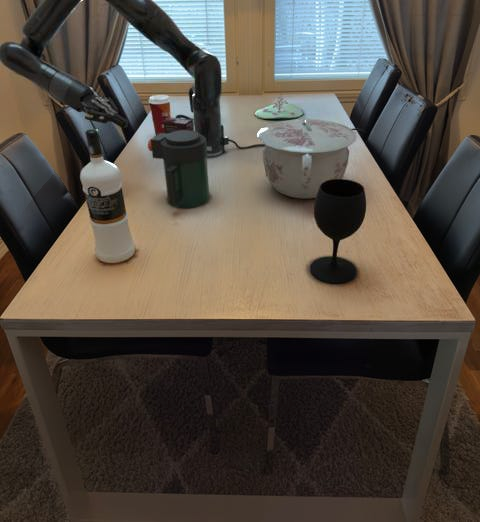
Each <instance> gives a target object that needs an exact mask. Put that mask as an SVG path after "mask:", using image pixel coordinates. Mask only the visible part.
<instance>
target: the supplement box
mask: <svg viewBox="0 0 480 522" xmlns="http://www.w3.org/2000/svg"><path fill="white" fill-rule="evenodd" d="M163 123H164V131H165V134H169V133H171V132H175V131H181V130H191V131H195V126H194V120H189V119H185V118H175V117H172V116H171V118H168V119H166V120H165V121H163Z"/></svg>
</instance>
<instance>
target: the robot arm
mask: <svg viewBox="0 0 480 522" xmlns="http://www.w3.org/2000/svg"><path fill="white" fill-rule="evenodd" d="M104 1H106V2H107V3H108V4H109V5H110V6H111V7H112V8H113V9H114V10H115V11H116V12H117V13H118V14H119V15H120V16H121V17H122V18H123V19H124V20H125V21H127V23H129V25H131V26H132V27H133V28H134V29H135V30H136V31H138V32H139V33H140V34H141V35H142V36H143V37H145V38H146V39H147V40H148V41H150V42H151V43H152V44H153V45H154V46H156V47H157V48H159V49H161V50H162V51H164V52H165V53H167V54H168V55H169V56H171V57H172V58H173V59H174V60H175V61H176V62H177V63H178V64H179V65H180V66H181V67H182V68H183V69H184V70H185V71H186V73H187V74H189V76H191V78H192V79H193V81H194V85H195V94H194V95H193V96H192V102H193V119H194V120H193V125H194V131H196V132H198V133H199V134H201V135H203V136H205V137H206V143H207V158H213V157H218V156H220V155H222V154H223V153H225V152H226V151H225V149H226V148H225V146H228V145H229V144H230V143H232V144H234V145H235V147H236V148H237V149H240V150H245V149H251V148H255V147H265V144H264V143H257V144H252V145H249V146H240V145H239V144H238V143H237V142H236V141H235V140H233V139H230V137H229V136H227V135H225V128H224V125H223V124H222V114H221V96H222V87H223V86H222V85H223V84H222V83H223V82H222V80H223V77H222V66H221V62H220V59H219V58H218V57H217V56H216V55H214V54H213V53H210V52H208V51H205V50H203V49H202V48H200V47H199V46H198V45H197V44H195V43H194V42H192V41H191V39H189V38H188V37H186V35H185V34H184V33H183V32H182V31H181V30H180V28H179V27H178V25H177V24H176V23H175V21H174V20H173V19H172V17H171V16H170V15H168V13H167V12H166V11H164V9H163V8H161V7H160V6H159V5H158V4H157V3H156V2H155V1H154V0H104ZM81 2H82V0H43V1H42V2H40V4H39V5H38V6H37V7H36V8H35V9H34V11H33V12H32V13H31V14H30V16H29V18H27V20H26V21H25V22H24V24H23V25H22V27H21V33H22V39H21V41H20V43H18V42H15V41H5V42H3V43H1V44H0V63H1V64H2V65H3V66H4V67H5V68H6V69H8V70H10V71H11V72H12V73H14V74H15V75H18V76H21V77H23V78H25V79H27V80H28V81H30V82H31V83H33V84H34V85H35V86H37V87H38V88H40V89H41V90H43V91H44V92H46V93H48V94H49V95H51V96H52V97H53V98H54V99H56V100H57V101H58V102H61V103H63V104H64V105H66V106H68V107H69V108H71V109H72V110H74V111H76V112H78V113H85V115H84V119H85V120H87V121H92V122H96V123H101V124H104V125H105V124H107V123H113V124H114V125H116V126H118V127H119V128H121V129H122V130H124V129H126V128H127V127H128V125H129V120H128V119H126V118H125V117H123V116H121V114H118V112H119V108H118V106H117V105H116V104H115V102H114V100H113V99H112V98H111V97H109V96H108V97H107V98H106V99H103V98H102V97H101V96H99V95H96V94H95V93H94V89H93V88H92V87H91V86H90V85H88V84H86V83H85V82H82V81H81V80H79V78H76V77H75V76H73V75H72V74H69V73H67V72H65V71H63V70H61V69H60V68H58V67H56V66H55V65H53V64H51V63H49V62H47V61H45V60H43V59H42V58H43V55H44V53H45V49H46V48H47V46H48V44H49V43H50V42H51V41H52V39H53V38H54V37H55V36H56V34H57V33H58V32H59V31H60V29H61V28H62V26H63V25H64V23H65V22H66V21H67V19H68V18H69V16H71V14H72V13H73V11H74V10H75V9H76V8H77V6H78V5H79V4H80V3H81ZM351 129H352V130H353V131H359V132H361V133H363V134H366V131H365V130H364V129H361V128H358V127H357V128H355V127H354V128H351Z"/></svg>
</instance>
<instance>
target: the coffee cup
mask: <svg viewBox="0 0 480 522" xmlns="http://www.w3.org/2000/svg"><path fill="white" fill-rule="evenodd" d="M148 103H149V108H150V113H151V118H152V122H153V124H152V125H153V128H154V134H155V136H156V135H158V134H159V133H164V134H165V131H164V123H163V121H165V120H166V119H168V118H171V117H172V115H171V98H170V96H169V95H167V94H155V95H151V96H150V97H149V99H148Z"/></svg>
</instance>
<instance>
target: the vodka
mask: <svg viewBox="0 0 480 522" xmlns="http://www.w3.org/2000/svg"><path fill="white" fill-rule="evenodd" d="M84 134H85V138H86V142H87V148H88V153H89V157H90V161H89V162H88V163H87V164H86V165H85V166H84V167H82V168H81V170H80V174H79V179H80V182H81V185H82V191H83V194H84V196H85V197H84V198H85V201H86V205H87V210H88V215H89V222H90V224H91V228H92V231H93V238H94V252H95V257H96V258H97V259H98V261H101V262H102V263H107V264H117V263H122V262H125V261H127V260H129V259H130V258H131V257H133V255H134V254H135V251H136V244H135V241H134V238H133V236H132V233H131V231H130V225H129V214H128V212H127V208H126V202H125V198H124V192H123V182H122V179H121V178H122V177H121V171H120V170H119V167H118V166H116V165H115V163H112V162H110V161H109V160H105V159H104V155H103V150H102V144H101V139H100V135H99V130H98V129H95V128H92V129H91V128H90V129H87V130H86V131H84Z"/></svg>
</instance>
